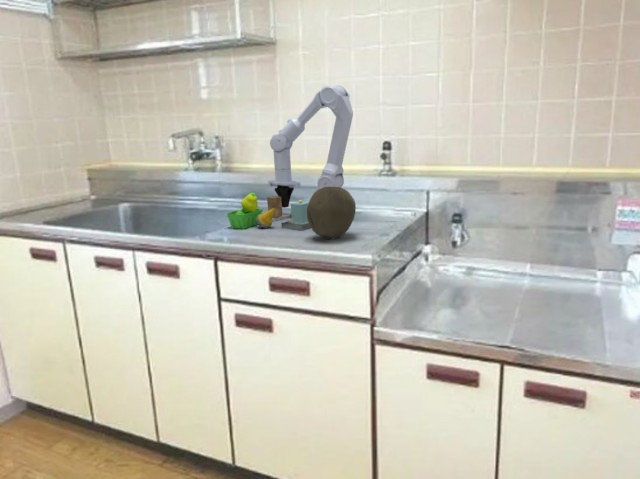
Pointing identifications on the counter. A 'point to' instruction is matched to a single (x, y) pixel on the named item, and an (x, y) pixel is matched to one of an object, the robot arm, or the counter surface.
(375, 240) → the counter surface
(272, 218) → the track
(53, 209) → the counter surface
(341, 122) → the robot arm
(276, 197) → the brown tall block
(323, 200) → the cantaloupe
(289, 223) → the press bed
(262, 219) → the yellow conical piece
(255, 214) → the fruit basket
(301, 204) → the block
